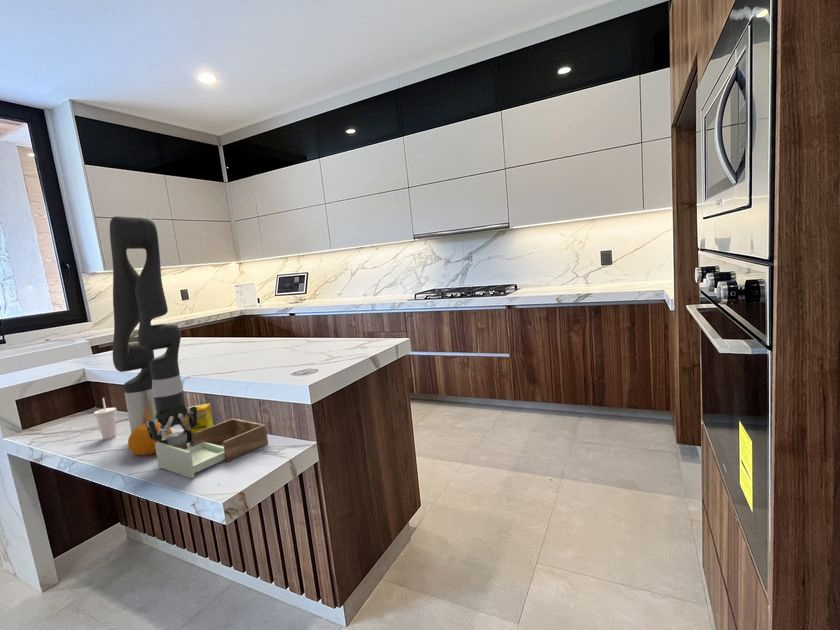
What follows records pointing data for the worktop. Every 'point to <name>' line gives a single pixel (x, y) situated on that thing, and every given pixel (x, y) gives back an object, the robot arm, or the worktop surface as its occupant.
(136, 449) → the fruit
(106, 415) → the smoothie
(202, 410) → the supplement box
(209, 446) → the tray
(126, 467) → the worktop surface
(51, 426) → the worktop surface
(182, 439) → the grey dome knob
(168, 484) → the worktop surface
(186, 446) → the brown wooden cube
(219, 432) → the cubby
